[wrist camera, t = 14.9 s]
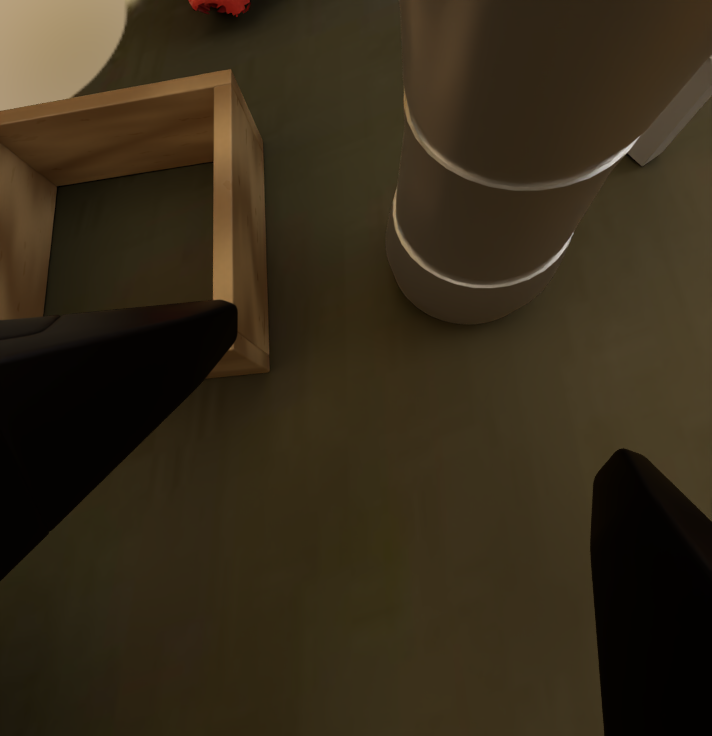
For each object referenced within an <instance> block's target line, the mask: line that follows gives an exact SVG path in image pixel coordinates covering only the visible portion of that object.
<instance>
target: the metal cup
mask: <svg viewBox="0 0 712 736" xmlns="http://www.w3.org/2000/svg"><path fill="white" fill-rule="evenodd" d="M399 4H400V16H401V44H402V72H403V85H404V124H405V127H404V135H403V143H402V151H401V160H400V168H399V176H398V184H397V189H396V192H395V195H394V198H393V201H392V205H391V209H390V212H389V218H388V223H387V229H386V241H385V248H386V253H387V259H388V262H389V265H390V267H391V270H392V272H393V274H394V277H395V279H396V281H397V284H398V286H399V288H400V289H401V291H402V292H403V293H404V295H405V296H406V298H407V299H408V300H409V301H411V302H412V303H413V304H414V305H415V306H416V307H417V308H418V309H420V310H422V311H423V312H425V313H426V314H428V315H430V316H432V317H435V318H437V319H439V320H442V321H446V322H451V323H455V324H471V325H474V324H481V323H488V322H491V321H494V320H497V319H500V318H503V317H505V316H506V315H508V314H510V313H512V312H513V311H515V310H517V309H519V308H520V307H522V306H524V305H526V304H527V303H529V302H531V301H532V300H533V299H534V298H535V297H536V296H538V295H539V294H540V293H541V292H542V291H543V290H544V289H545V287H546V286H547V285H548V283H549V282H550V281H551V279H552V278H553V276H554V274H555V272H556V271H557V269H558V267H559V265H560V263H561V261H562V260H563V257H564V255H565V253H566V251H567V248H568V246H569V243H570V241H571V238H572V235H573V233H574V230H575V229H576V227H577V226H578V224H579V222H580V221H581V219H582V218H583V216H584V214H585V213H586V211H587V209H588V208H589V206H590V205H591V203H592V201H593V200H594V198H595V197H596V195H597V193H598V192H599V190H600V189H601V187H602V185H603V184H604V182H605V181H606V179H607V177H608V176H609V174H610V173H611V171H612V170H613V169H614V168H615V166H616V165H617V164H618V163H619V162H620V161H621V159H622V158H623V157H624V156H625V155H626V154H627V153H628V151H629V150H630V149H631V147H632V146H633V145H634V143H635V142H636V141H637V139H638V138H639V137H640V136H641V135H642V134H643V133H644V132H645V131H646V130H647V129H648V128H649V127H650V126H651V124H652V123H653V122H654V121H655V120H656V119H657V117H658V116H659V115H660V114H661V113H662V112H663V110H664V109H665V108H666V107H667V106H668V105H669V103H670V102H671V101H672V100H673V99H674V98H675V96H676V95H677V94H678V93H679V92H680V90H681V89H682V88H683V87H684V86H685V85H686V83H687V82H688V81H689V80H690V79H691V78H692V76H693V75H694V74H695V73H696V72H697V71H698V69H699V68H700V67H701V66H702V65H703V64H704V62H705V61H706V60H707V59H708V58H709V57H710V56H711V55H712V0H399Z"/></svg>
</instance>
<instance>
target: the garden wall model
mask: <svg viewBox="0 0 712 736" xmlns="http://www.w3.org/2000/svg"><path fill="white" fill-rule="evenodd" d="M711 95H712V55H711V56H710V57H709V58H708V59H707V60H706V61H705V62H704V64H703V65H702V66H701V67H700V68H699V69H698V71H697V72H696V73H695V74H694V75H693V76H692V78H691V79H690V80H689V81H688V82H687V83H686V85H685V86H684V87H683V88H682V89H681V90H680V92H679V93H678V94H677V95H676V96H675V98H674V99H673V100H672V101H671V102H670V103H669V105H668V106H667V107H666V108H665V109H664V110H663V112H662V113H661V114H660V115H659V116H658V117H657V119H656V120H655V121H654V122H653V123H652V124H651V126H650V127H649V128H648V129H647V130H646V131H645V132H644V133H643V134H642V135H641V136H640V137H639V138H638V139H637V141H636V142H635V143H634V145H633V146H632V147H631V149H630V150H629V151H628V154H629V155H630V156H631V157H632V158H633V159H634V160H635V161H637V162H638V163H639V164H640V165H641V166H644V165H645V164H647V163H648V162H649V161H651V160H652V159H654V158H655V157H657V156H658V155H659V154H661V153H662V152H663V151H664V150H665V148H666V147H667V146H668V145H669V144H670V143H671V142H672V140H673V139H674V138H675V137H676V136H677V135H678V133H679V132H680V131H681V130H682V129H683V128H684V127H685V125H686V124H687V123H688V122H689V121H690V120H691V119H692V117H693V116H694V115H695V114H696V113H697V112H698V110H699V109H700V108H701V107H702V106H703V105H704V104H705V102H706V101H707V100H708V99H709V98H710V97H711Z"/></svg>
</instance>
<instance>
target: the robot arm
mask: <svg viewBox="0 0 712 736" xmlns="http://www.w3.org/2000/svg"><path fill="white" fill-rule="evenodd" d="M237 334H238V309H237V306H236V305H235V304H233V303H230V302H227V301H225V300H221V299H218V300H208V301H198V302H188V303H177V304H167V305H157V306H146V307H136V308H126V309H115V310H105V311H95V312H85V313H74V314H64V315H62V316H60V315H53V316H43V317H32V318H20V319H8V320H0V581H1V580H2V579H3V578H4V577H5V576H6V575H7V574H8V573H9V572H10V571H11V570H12V569H13V568H14V567H15V566H16V565H17V564H18V563H19V562H20V561H21V560H22V559H23V558H24V557H25V556H26V555H27V554H28V553H29V552H30V551H32V550H33V549H34V548H35V547H36V546H37V545H38V544H39V543H40V542H41V541H42V540H43V539H44V538H45V537H46V536H47V535H48V534H49V531H51V530H53V529H54V528H55V527H56V526H57V525H58V524H59V523H60V522H61V521H62V520H63V519H64V518H65V517H66V516H67V515H68V514H69V513H70V512H71V511H72V510H73V509H74V508H75V507H76V506H77V505H78V504H79V503H80V502H81V501H82V500H83V499H84V498H85V497H86V496H87V495H88V494H89V493H90V492H91V491H92V490H93V489H94V488H95V487H96V486H97V485H98V484H99V483H101V482H102V481H103V480H104V479H105V478H106V477H107V476H108V475H109V474H110V473H111V472H112V471H113V470H114V469H115V468H116V467H117V466H118V465H119V464H120V463H121V462H122V461H123V460H124V459H125V458H126V457H127V456H128V455H129V454H130V453H131V452H132V451H133V450H134V449H135V448H136V447H137V446H138V445H139V444H140V443H141V442H142V441H143V440H144V439H145V438H146V437H147V436H148V435H149V434H150V433H151V432H152V431H154V430H155V429H156V428H157V427H158V426H159V425H160V424H161V423H162V422H163V421H164V420H165V419H166V418H167V417H168V416H169V415H170V414H171V413H172V412H173V411H174V410H175V409H176V408H177V407H178V406H179V405H180V404H181V403H182V402H183V401H184V400H185V399H186V398H187V397H188V396H189V395H190V394H191V393H192V392H193V391H194V390H195V389H196V388H197V387H198V386H199V385H200V384H201V383H202V382H203V381H204V379H205V378H206V377H207V376H208V375H209V373H210V372H211V371H212V370H213V369H214V367H215V366H216V365H217V364H218V362H219V361H220V360H221V359H222V357H223V356H224V355H225V354H226V353H227V351H228V350H229V349H230V348H231V346H232V345H233V344H234V342H235V341H236V338H237ZM590 552H591V568H592V581H593V594H594V607H595V620H596V633H597V646H598V659H599V672H600V684H601V697H602V710H603V723H604V736H712V522H711V521H710V520H709V519H708V518H707V517H706V516H705V515H704V514H703V513H702V512H701V511H700V510H699V509H698V508H697V507H696V506H695V505H694V504H693V503H692V502H691V501H690V500H689V499H688V498H687V497H686V496H685V495H684V494H683V493H682V492H681V491H680V490H679V489H678V488H677V487H676V486H675V485H674V484H673V483H672V482H670V481H669V480H668V479H667V478H666V477H665V476H664V475H663V474H662V473H661V472H660V471H659V470H658V469H657V468H656V467H655V466H654V465H653V464H652V463H651V462H650V461H649V460H648V459H647V458H646V457H645V456H643V455H641V454H638V453H636V452H633V451H630V450H627V449H624V448H623V449H619V450H617V451H616V452H615V453H614V454H613V455H612V456H611V457H610V459H609V460H608V461H607V462H606V463H605V465H604V466H603V467H602V468H601V469H600V470H599V472H598V473H597V474H596V476H595V479H594V483H593V499H592V518H591V538H590Z"/></svg>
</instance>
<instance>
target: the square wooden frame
mask: <svg viewBox="0 0 712 736" xmlns="http://www.w3.org/2000/svg"><path fill="white" fill-rule="evenodd" d="M213 161H214V191H213V300H218V299H221V300H225V301H227V302H230V303H233V304H235V305H236V306H237V309H238V334H237V338H236V341H235V342H234V344H233V345H232V346H231V348H230V349H229V350H228V351H227V353H226V354H225V355H224V356H223V357H222V359H221V360H220V361H219V362H218V364H217V365H216V366H215V367H214V369H213V370H212V371H211V372H210V373H209V375H208V376H207V377H206V378H205V379H209V378H219V377H228V376H238V375H248V374H257V373H267V372H269V371H270V362H269V356H268V355H269V325H268V292H267V258H266V225H265V191H264V158H263V140H262V138H261V136H260V133H259V131H258V129H257V127H256V124H255V122H254V120H253V118H252V115H251V113H250V111H249V109H248V106H247V104H246V102H245V100H244V97H243V95H242V93H241V91H240V88H239V86H238V84H237V82H236V79H235V77H234V75H233V73H232V70H231V69H229V70H223V71H218V72H212V73H207V74H201V75H196V76H190V77H185V78H179V79H174V80H168V81H163V82H157V83H152V84H146V85H141V86H135V87H130V88H124V89H119V90H113V91H108V92H102V93H97V94H91V95H86V96H80V97H75V98H69V99H65V100H58V101H53V102H47V103H42V104H36V105H31V106H25V107H20V108H14V109H10V110H4V111H0V320H8V319H20V318H32V317H43V313H44V304H45V295H46V286H47V277H48V267H49V258H50V249H51V240H52V231H53V222H54V212H55V203H56V194H57V186H63V185H69V184H75V183H82V182H88V181H94V180H100V179H107V178H113V177H119V176H125V175H132V174H138V173H144V172H151V171H157V170H163V169H169V168H176V167H182V166H188V165H194V164H201V163H207V162H213Z"/></svg>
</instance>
